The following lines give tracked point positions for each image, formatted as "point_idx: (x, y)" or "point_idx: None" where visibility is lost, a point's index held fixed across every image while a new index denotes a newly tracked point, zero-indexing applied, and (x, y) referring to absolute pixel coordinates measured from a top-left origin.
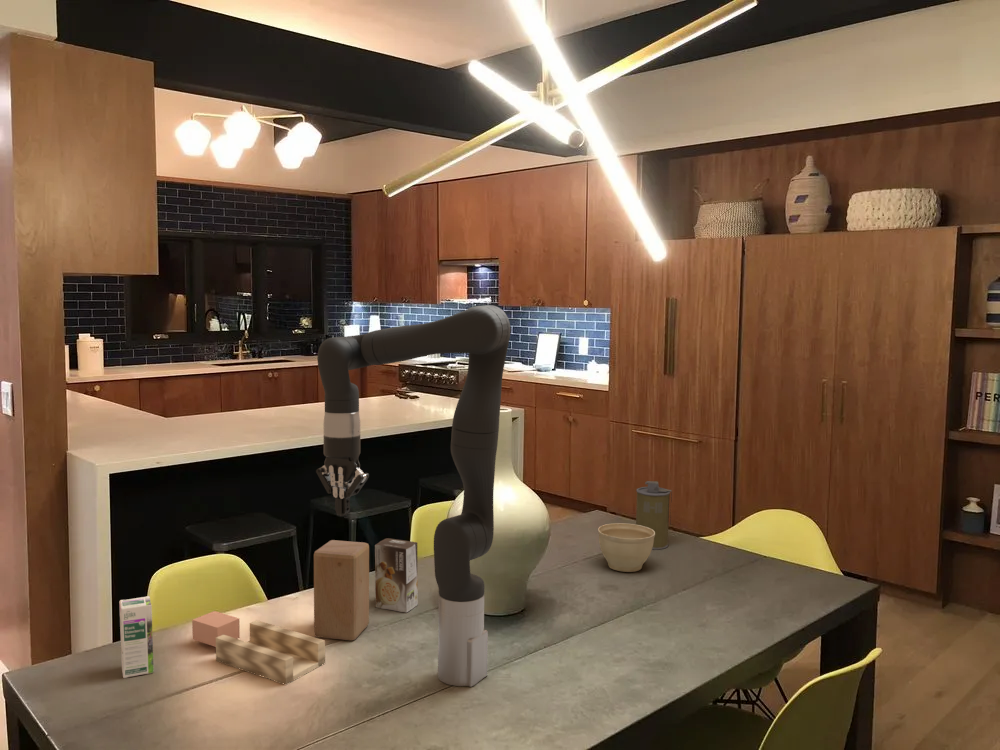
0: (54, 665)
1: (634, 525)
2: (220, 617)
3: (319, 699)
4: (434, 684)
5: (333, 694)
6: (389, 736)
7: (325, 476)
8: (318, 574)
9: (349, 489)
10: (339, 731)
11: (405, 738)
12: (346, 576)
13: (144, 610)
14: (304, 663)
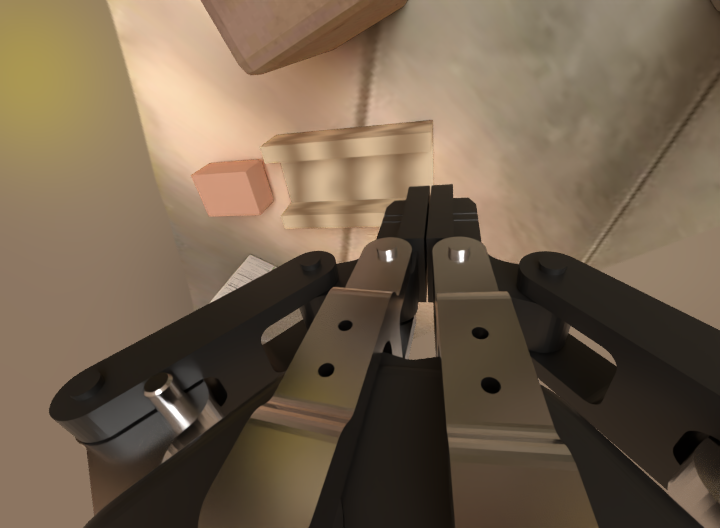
0: (200, 299)
1: None
2: (223, 187)
3: (509, 209)
4: (710, 38)
5: (520, 188)
6: (679, 229)
7: (230, 407)
8: (290, 62)
9: (559, 383)
10: (592, 252)
11: (710, 222)
12: (369, 11)
13: None
14: (415, 157)
